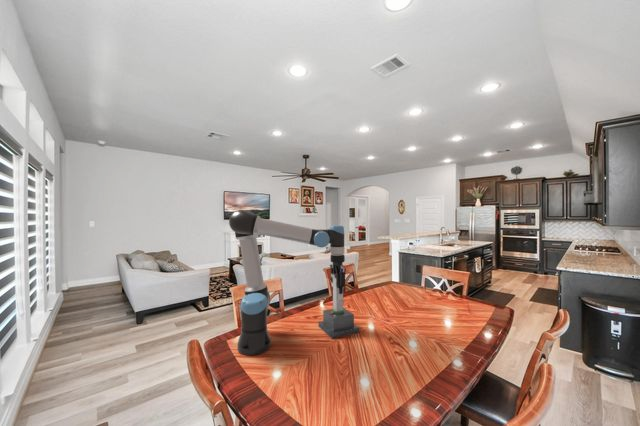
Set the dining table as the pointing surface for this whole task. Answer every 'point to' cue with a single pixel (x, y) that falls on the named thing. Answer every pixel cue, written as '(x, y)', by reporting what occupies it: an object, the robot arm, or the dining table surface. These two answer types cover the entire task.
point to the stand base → (338, 324)
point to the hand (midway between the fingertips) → (337, 298)
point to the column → (336, 297)
